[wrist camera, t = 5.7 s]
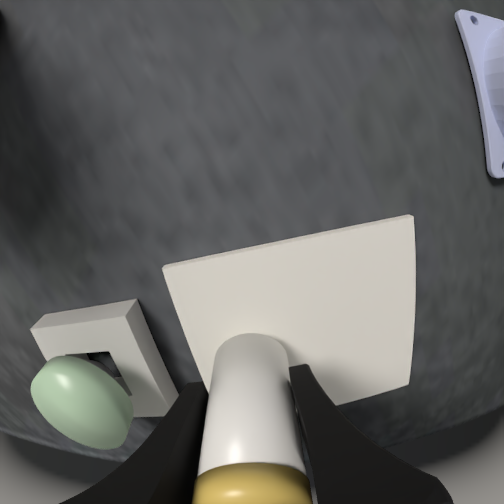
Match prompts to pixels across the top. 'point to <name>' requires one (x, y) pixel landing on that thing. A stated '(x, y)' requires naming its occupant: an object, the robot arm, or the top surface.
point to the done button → (83, 401)
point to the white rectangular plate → (311, 304)
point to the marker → (251, 428)
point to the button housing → (113, 350)
